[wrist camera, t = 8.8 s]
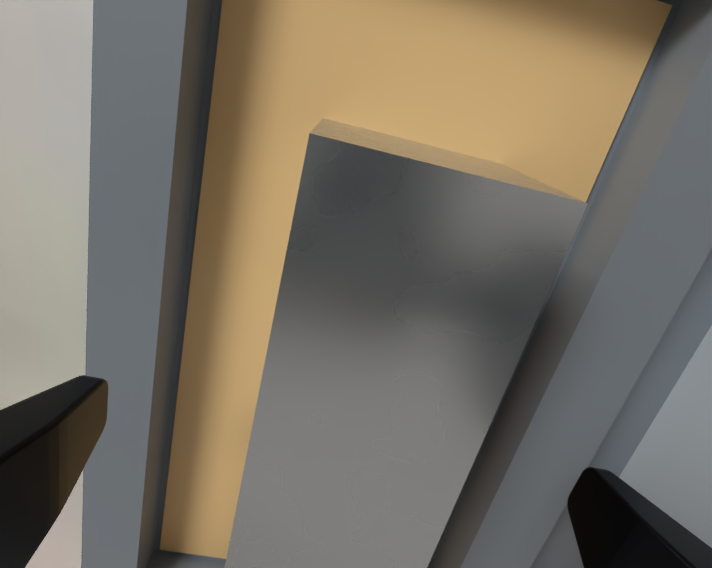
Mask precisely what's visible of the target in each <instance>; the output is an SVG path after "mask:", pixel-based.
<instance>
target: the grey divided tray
mask: <svg viewBox="0 0 712 568" xmlns="http://www.w3.org/2000/svg"><path fill="white" fill-rule="evenodd" d="M323 118H325V119H329V120H333V121H337V122H341V123H345V124H348V125H352V126H356V127H360V128H364V129H368V130H372V131H376V132H380V133H383V134H387V135H391V136H395V137H399V138H403V139H407V140H411V141H415V142H419V143H422V144H426V145H430V146H434V147H438V148H442V149H446V150H450V151H454V152H458V153H461V154H465V155H469V156H473V157H477V158H481V159H485V160H489V161H493V162H496V163H500V164H502V165H504V166H507V167H509V168H511V169H513V170H515V171H518V172H520V173H522V174H524V175H527V176H529V177H531V178H533V179H535V180H538V181H540V182H542V183H544V184H546V185H549V186H551V187H553V188H555V189H557V190H560V191H562V192H564V193H566V194H569V195H571V196H573V197H575V198H577V199H580V200H582V201H584V202H586V203H588V205H587V207H586V209H585V212H584V214H583V216H582V218H581V221H580V223H579V225H578V227H577V230H576V232H575V234H574V237H573V239H572V241H571V243H570V246H569V248H568V250H567V252H566V255H565V257H564V259H563V261H562V264H561V266H560V268H559V270H558V273H557V275H556V277H555V279H554V282H553V284H552V286H551V289H550V291H549V293H548V295H547V298H546V300H545V302H544V304H543V307H542V309H541V311H540V313H539V316H538V318H537V320H536V322H535V325H534V327H533V329H532V332H531V334H530V336H529V338H528V341H527V343H526V345H525V347H524V350H523V352H522V354H521V356H520V359H519V361H518V363H517V365H516V368H515V370H514V372H513V374H512V377H511V379H510V381H509V384H508V386H507V388H506V390H505V393H504V395H503V397H502V399H501V402H500V404H499V406H498V408H497V411H496V413H495V415H494V417H493V420H492V422H491V424H490V427H489V429H488V431H487V433H486V436H485V438H484V440H483V442H482V445H481V447H480V449H479V451H478V454H477V456H476V458H475V460H474V463H473V465H472V467H471V469H470V472H469V474H468V476H467V479H466V481H465V483H464V485H463V488H462V490H461V492H460V494H459V497H458V499H457V501H456V503H455V506H454V508H453V510H452V512H451V515H450V517H449V519H448V522H447V524H446V526H445V528H444V531H443V533H442V535H441V537H440V540H439V542H438V544H437V546H436V549H435V551H434V553H433V555H432V558H431V560H430V562H429V564H428V567H427V568H584V567H583V563H582V560H581V556H580V553H579V549H578V545H577V542H576V538H575V534H574V531H573V527H572V523H571V520H570V516H569V513H568V507H567V501H568V496H569V494H570V493H571V491H572V489H573V487H574V485H575V484H576V482H577V480H578V478H579V477H580V475H581V473H582V471H583V470H584V469H586V468H587V467H595V468H601V469H606V470H609V471H611V472H612V473H614V474H615V475H616V476H618V477H619V478H620V479H621V480H623V481H624V482H625V483H627V484H628V485H629V486H631V487H632V488H633V489H635V490H636V491H637V492H639V493H640V494H641V495H643V496H644V497H645V498H647V499H648V500H649V501H650V502H652V503H653V504H654V505H656V506H657V507H658V508H660V509H661V510H662V511H664V512H665V513H666V514H668V515H669V516H670V517H672V518H673V519H674V520H676V521H677V522H678V523H679V524H681V525H682V526H683V527H685V528H686V529H687V530H689V531H690V532H691V533H693V534H694V535H695V536H697V537H698V538H699V539H701V540H702V541H703V542H705V543H706V544H707V545H708V546H710V547H711V548H712V0H94V4H93V51H92V97H91V144H90V191H89V237H88V284H87V330H86V376H91V377H97V378H102V379H105V380H106V381H107V383H108V408H107V420H106V424H105V427H104V430H103V432H102V434H101V436H100V438H99V440H98V442H97V444H96V445H95V447H94V449H93V451H92V453H91V455H90V457H89V459H88V461H87V463H86V465H85V467H84V470H83V516H82V563H81V568H225V563H226V558H227V553H228V548H229V542H230V537H231V532H232V527H233V522H234V517H235V512H236V507H237V501H238V496H239V491H240V486H241V481H242V476H243V471H244V466H245V461H246V455H247V450H248V445H249V440H250V435H251V430H252V425H253V420H254V414H255V409H256V404H257V399H258V394H259V389H260V384H261V379H262V374H263V368H264V363H265V358H266V353H267V348H268V343H269V338H270V333H271V328H272V322H273V317H274V312H275V307H276V302H277V297H278V292H279V287H280V281H281V276H282V271H283V266H284V261H285V256H286V251H287V246H288V241H289V235H290V230H291V225H292V220H293V215H294V210H295V205H296V200H297V194H298V189H299V184H300V179H301V174H302V169H303V164H304V159H305V154H306V148H307V143H308V138H309V133H310V132H311V131H312V130H313V129H314V128H315V126H316V125H317V124H318V123H319V122H320V121H321V120H322V119H323Z"/></svg>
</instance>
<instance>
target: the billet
mask: <svg viewBox="0 0 712 568" xmlns="http://www.w3.org/2000/svg"><path fill="white" fill-rule="evenodd" d="M587 205H588V203H586V202H584V201H582V200H580V199H577V198H575V197H573V196H571V195H569V194H566V193H564V192H562V191H560V190H557V189H555V188H553V187H551V186H549V185H546V184H544V183H542V182H540V181H538V180H535V179H533V178H531V177H529V176H527V175H524V174H522V173H520V172H518V171H515V170H513V169H511V168H509V167H507V166H504V165H502V164H500V163H496V162H493V161H489V160H485V159H481V158H477V157H473V156H469V155H465V154H461V153H458V152H454V151H450V150H446V149H442V148H438V147H434V146H430V145H426V144H422V143H419V142H415V141H411V140H407V139H403V138H399V137H395V136H391V135H387V134H383V133H380V132H376V131H372V130H368V129H364V128H360V127H356V126H352V125H348V124H345V123H341V122H337V121H333V120H329V119H325V118H323V119H322V120H321V121H320V122H319V123H318V124H317V125H316V126H315V128H314V129H313V130H312V131H311V132H310V133H309V138H308V143H307V148H306V154H305V159H304V164H303V169H302V174H301V179H300V184H299V189H298V194H297V200H296V205H295V210H294V215H293V220H292V225H291V230H290V235H289V241H288V246H287V251H286V256H285V261H284V266H283V271H282V276H281V281H280V287H279V292H278V297H277V302H276V307H275V312H274V317H273V322H272V328H271V333H270V338H269V343H268V348H267V353H266V358H265V363H264V368H263V374H262V379H261V384H260V389H259V394H258V399H257V404H256V409H255V414H254V420H253V425H252V430H251V435H250V440H249V445H248V450H247V455H246V461H245V466H244V471H243V476H242V481H241V486H240V491H239V496H238V501H237V507H236V512H235V517H234V522H233V527H232V532H231V537H230V542H229V548H228V553H227V558H226V563H225V568H427V567H428V564H429V562H430V560H431V558H432V555H433V553H434V551H435V549H436V546H437V544H438V542H439V540H440V537H441V535H442V533H443V531H444V528H445V526H446V524H447V522H448V519H449V517H450V515H451V512H452V510H453V508H454V506H455V503H456V501H457V499H458V497H459V494H460V492H461V490H462V488H463V485H464V483H465V481H466V479H467V476H468V474H469V472H470V469H471V467H472V465H473V463H474V460H475V458H476V456H477V454H478V451H479V449H480V447H481V445H482V442H483V440H484V438H485V436H486V433H487V431H488V429H489V427H490V424H491V422H492V420H493V417H494V415H495V413H496V411H497V408H498V406H499V404H500V402H501V399H502V397H503V395H504V393H505V390H506V388H507V386H508V384H509V381H510V379H511V377H512V374H513V372H514V370H515V368H516V365H517V363H518V361H519V359H520V356H521V354H522V352H523V350H524V347H525V345H526V343H527V341H528V338H529V336H530V334H531V332H532V329H533V327H534V325H535V322H536V320H537V318H538V316H539V313H540V311H541V309H542V307H543V304H544V302H545V300H546V298H547V295H548V293H549V291H550V289H551V286H552V284H553V282H554V279H555V277H556V275H557V273H558V270H559V268H560V266H561V264H562V261H563V259H564V257H565V255H566V252H567V250H568V248H569V246H570V243H571V241H572V239H573V237H574V234H575V232H576V230H577V227H578V225H579V223H580V221H581V218H582V216H583V214H584V212H585V209H586V207H587Z"/></svg>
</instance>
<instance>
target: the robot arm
mask: <svg viewBox="0 0 712 568" xmlns="http://www.w3.org/2000/svg"><path fill="white" fill-rule="evenodd" d="M107 408H108V383H107V381H106V380H105V379H102V378H97V377H91V376H85V375H82V376H79V377H76V378H74V379H71V380H69V381H67V382H64V383H62V384H60V385H57V386H55V387H53V388H50V389H48V390H46V391H43V392H41V393H39V394H37V395H34V396H32V397H30V398H27V399H25V400H23V401H20V402H18V403H16V404H13V405H11V406H9V407H6V408H4V409H2V410H0V568H25V566H26V565H27V563H28V562H29V560H30V559H31V557H32V556H33V554H34V553H35V551H36V550H37V548H38V547H39V545H40V544H41V542H42V541H43V539H44V538H45V536H46V535H47V533H48V531H49V530H50V528H51V527H52V525H53V524H54V522H55V520H56V519H57V517H58V516H59V514H60V512H61V510H62V509H63V507H64V505H65V503H66V501H67V499H68V497H69V495H70V494H71V492H72V490H73V488H74V486H75V484H76V482H77V480H78V478H79V476H80V474H81V472H82V470H83V469H84V467H85V465H86V463H87V461H88V459H89V457H90V455H91V453H92V451H93V449H94V447H95V445H96V444H97V442H98V440H99V438H100V436H101V434H102V432H103V430H104V427H105V424H106V420H107ZM567 507H568V513H569V516H570V520H571V523H572V527H573V531H574V534H575V538H576V542H577V545H578V549H579V553H580V556H581V560H582V563H583V567H584V568H712V548H711V547H710V546H708V545H707V544H706V543H705V542H703V541H702V540H701V539H699V538H698V537H697V536H695V535H694V534H693V533H691V532H690V531H689V530H687V529H686V528H685V527H683V526H682V525H681V524H679V523H678V522H677V521H676V520H674V519H673V518H672V517H670V516H669V515H668V514H666V513H665V512H664V511H662V510H661V509H660V508H658V507H657V506H656V505H654V504H653V503H652V502H650V501H649V500H648V499H647V498H645V497H644V496H643V495H641V494H640V493H639V492H637V491H636V490H635V489H633V488H632V487H631V486H629V485H628V484H627V483H625V482H624V481H623V480H621V479H620V478H619V477H618V476H616V475H615V474H614V473H612V472H611V471H609V470H606V469H601V468H595V467H587V468H586V469H584V470H583V471H582V473H581V475H580V477H579V478H578V480H577V482H576V484H575V485H574V487H573V489H572V491H571V493H570V494H569V496H568V501H567Z"/></svg>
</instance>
